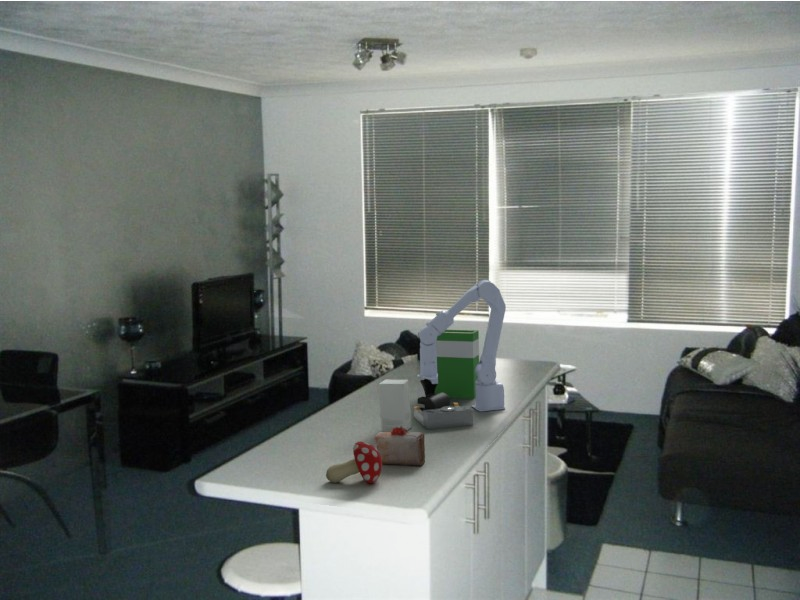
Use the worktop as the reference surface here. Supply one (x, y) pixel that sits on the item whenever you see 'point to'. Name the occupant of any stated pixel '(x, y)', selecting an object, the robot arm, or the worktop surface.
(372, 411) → the worktop surface
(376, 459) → the decorative mushroom
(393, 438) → the food item
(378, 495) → the worktop surface
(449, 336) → the green box
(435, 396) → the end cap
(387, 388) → the skincare box
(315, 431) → the worktop surface
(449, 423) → the motor housing with clip cradle
